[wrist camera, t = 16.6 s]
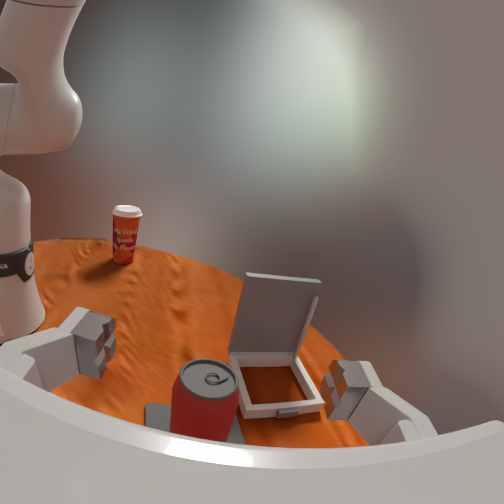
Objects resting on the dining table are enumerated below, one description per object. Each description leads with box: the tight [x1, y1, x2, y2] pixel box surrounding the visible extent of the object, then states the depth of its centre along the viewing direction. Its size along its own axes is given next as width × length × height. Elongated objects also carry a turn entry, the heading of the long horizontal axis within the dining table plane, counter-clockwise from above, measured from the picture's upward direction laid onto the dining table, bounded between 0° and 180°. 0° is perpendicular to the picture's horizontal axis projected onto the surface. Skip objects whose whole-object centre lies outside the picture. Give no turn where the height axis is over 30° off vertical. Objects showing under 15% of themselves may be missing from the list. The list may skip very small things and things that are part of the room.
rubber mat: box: [146, 403, 245, 445], centre depth 29 cm, size 12×12×1 cm
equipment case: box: [227, 273, 324, 419], centre depth 40 cm, size 12×14×16 cm
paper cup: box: [112, 205, 142, 264], centre depth 70 cm, size 8×8×14 cm
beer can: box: [170, 359, 239, 442], centre depth 27 cm, size 7×7×12 cm
